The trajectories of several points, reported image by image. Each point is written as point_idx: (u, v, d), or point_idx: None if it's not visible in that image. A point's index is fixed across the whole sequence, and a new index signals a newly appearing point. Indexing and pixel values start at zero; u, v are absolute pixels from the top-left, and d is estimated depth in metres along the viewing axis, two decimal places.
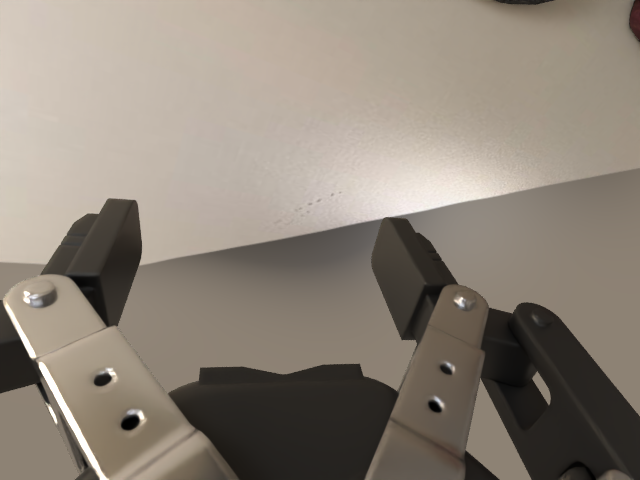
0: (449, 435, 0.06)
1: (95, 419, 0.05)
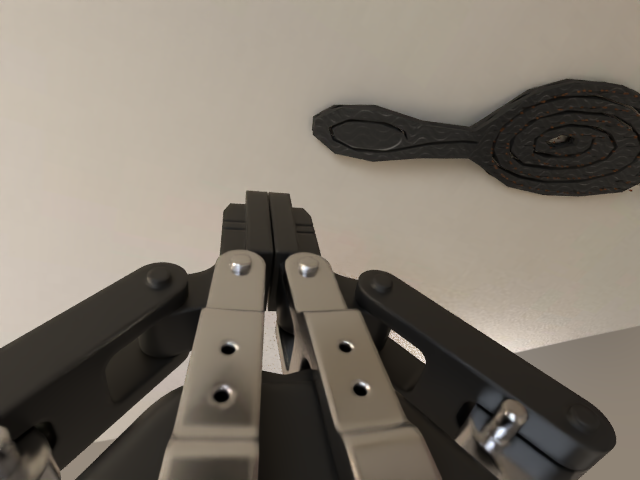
0: (386, 408, 0.06)
1: (203, 376, 0.06)
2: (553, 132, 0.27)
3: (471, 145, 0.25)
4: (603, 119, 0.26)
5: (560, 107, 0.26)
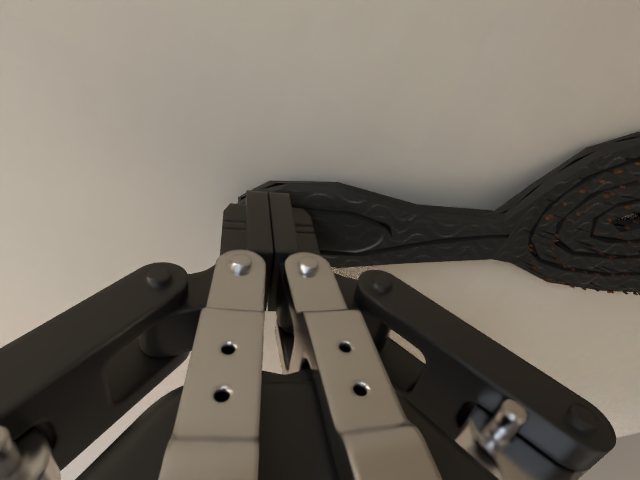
0: (386, 408, 0.06)
1: (203, 376, 0.06)
2: (623, 209, 0.17)
3: (497, 240, 0.15)
4: None
5: (638, 173, 0.16)
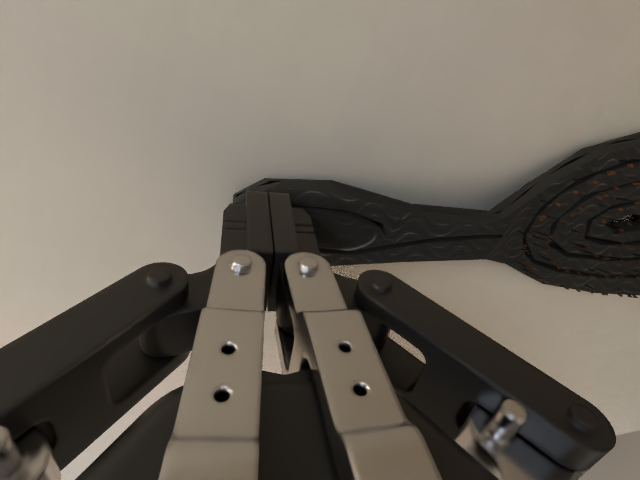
0: (386, 408, 0.06)
1: (203, 376, 0.06)
2: (617, 211, 0.17)
3: (491, 240, 0.15)
4: None
5: (632, 176, 0.16)
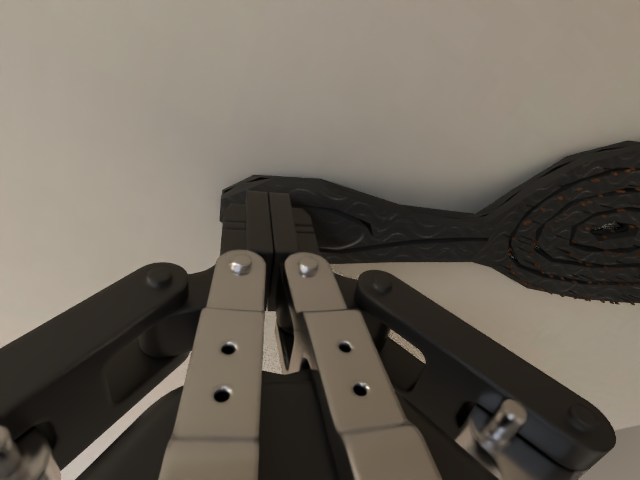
0: (386, 408, 0.06)
1: (203, 376, 0.06)
2: (601, 218, 0.18)
3: (477, 243, 0.16)
4: None
5: (616, 184, 0.17)
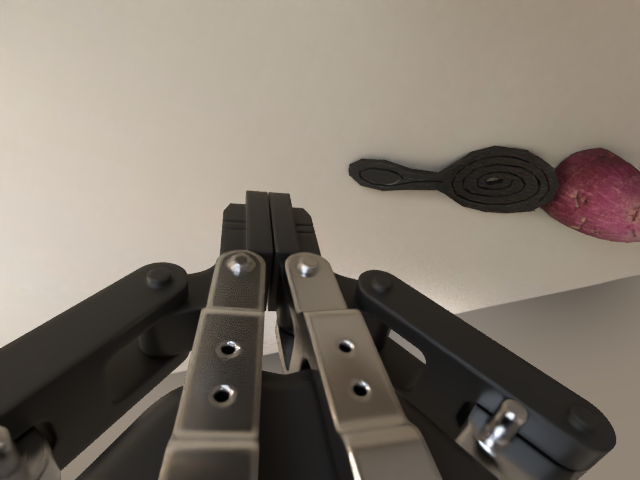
0: (386, 408, 0.06)
1: (203, 376, 0.06)
2: (488, 175, 0.46)
3: (439, 183, 0.44)
4: (516, 169, 0.45)
5: (491, 162, 0.45)
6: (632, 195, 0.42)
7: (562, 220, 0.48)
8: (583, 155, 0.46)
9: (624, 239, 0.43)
